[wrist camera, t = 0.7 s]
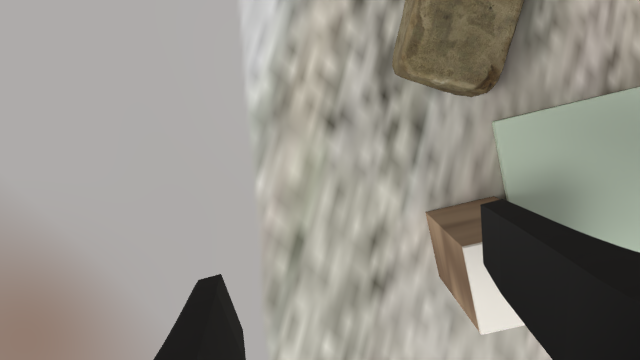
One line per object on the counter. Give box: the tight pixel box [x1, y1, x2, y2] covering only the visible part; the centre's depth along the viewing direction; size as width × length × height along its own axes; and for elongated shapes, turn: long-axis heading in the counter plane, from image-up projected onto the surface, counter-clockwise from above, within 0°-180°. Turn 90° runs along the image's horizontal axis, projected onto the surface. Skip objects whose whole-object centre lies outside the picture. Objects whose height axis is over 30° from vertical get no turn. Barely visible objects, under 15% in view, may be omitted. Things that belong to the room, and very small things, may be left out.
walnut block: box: [426, 196, 525, 335], centre depth 27 cm, size 4×4×8 cm
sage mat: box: [492, 86, 640, 252], centre depth 30 cm, size 14×11×1 cm
